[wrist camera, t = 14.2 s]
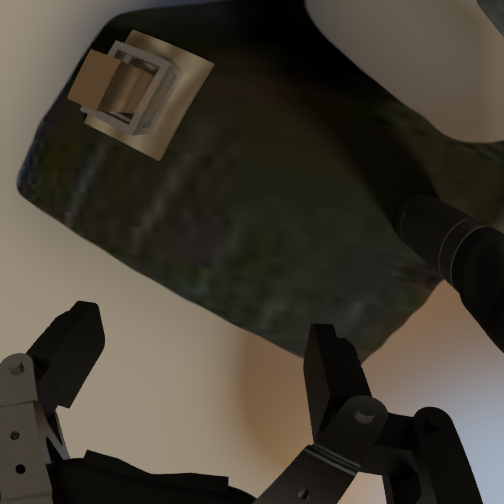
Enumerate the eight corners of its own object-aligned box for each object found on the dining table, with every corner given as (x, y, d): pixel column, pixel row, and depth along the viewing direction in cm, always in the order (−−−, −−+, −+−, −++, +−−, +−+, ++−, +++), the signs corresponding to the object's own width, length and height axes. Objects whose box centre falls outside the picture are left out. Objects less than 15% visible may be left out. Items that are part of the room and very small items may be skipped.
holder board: (214, 64, 39) (213, 63, 38) (160, 160, 44) (158, 160, 43) (134, 31, 36) (132, 29, 35) (87, 122, 41) (84, 122, 40)
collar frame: (185, 73, 38) (171, 62, 31) (151, 133, 42) (132, 135, 34) (137, 52, 37) (115, 40, 29) (105, 111, 40) (80, 110, 33)
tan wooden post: (164, 80, 39) (121, 60, 24) (145, 115, 41) (95, 112, 26) (141, 71, 38) (90, 49, 23) (123, 105, 40) (66, 99, 25)
